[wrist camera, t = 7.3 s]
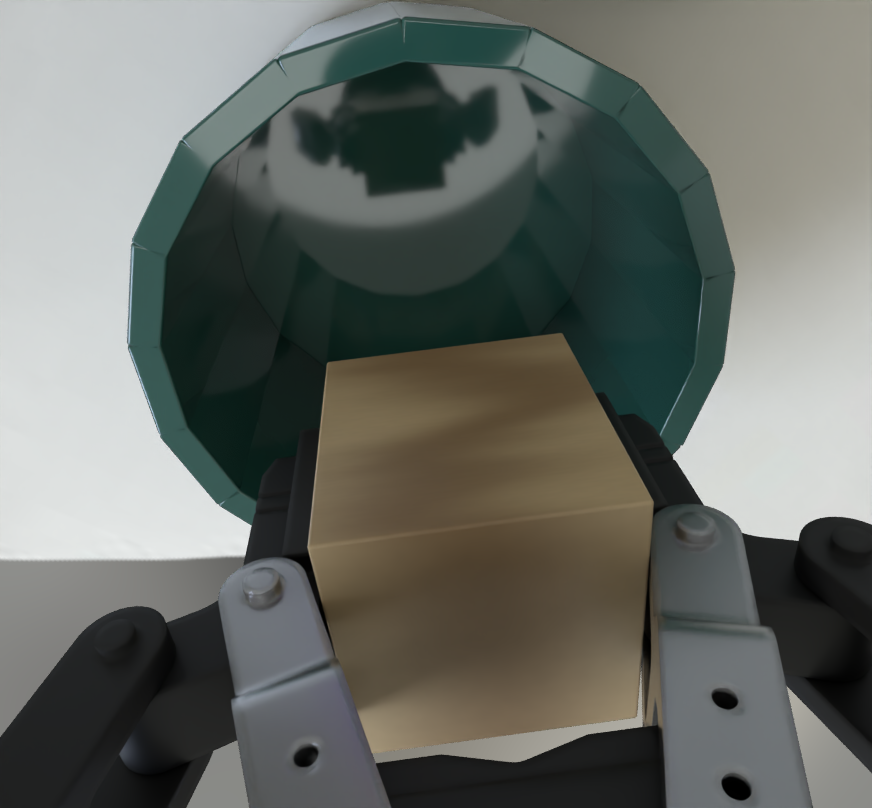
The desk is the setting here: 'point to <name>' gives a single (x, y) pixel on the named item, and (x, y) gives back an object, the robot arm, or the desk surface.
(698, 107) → the desk surface
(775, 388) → the desk surface
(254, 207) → the pot
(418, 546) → the block
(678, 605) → the robot arm
